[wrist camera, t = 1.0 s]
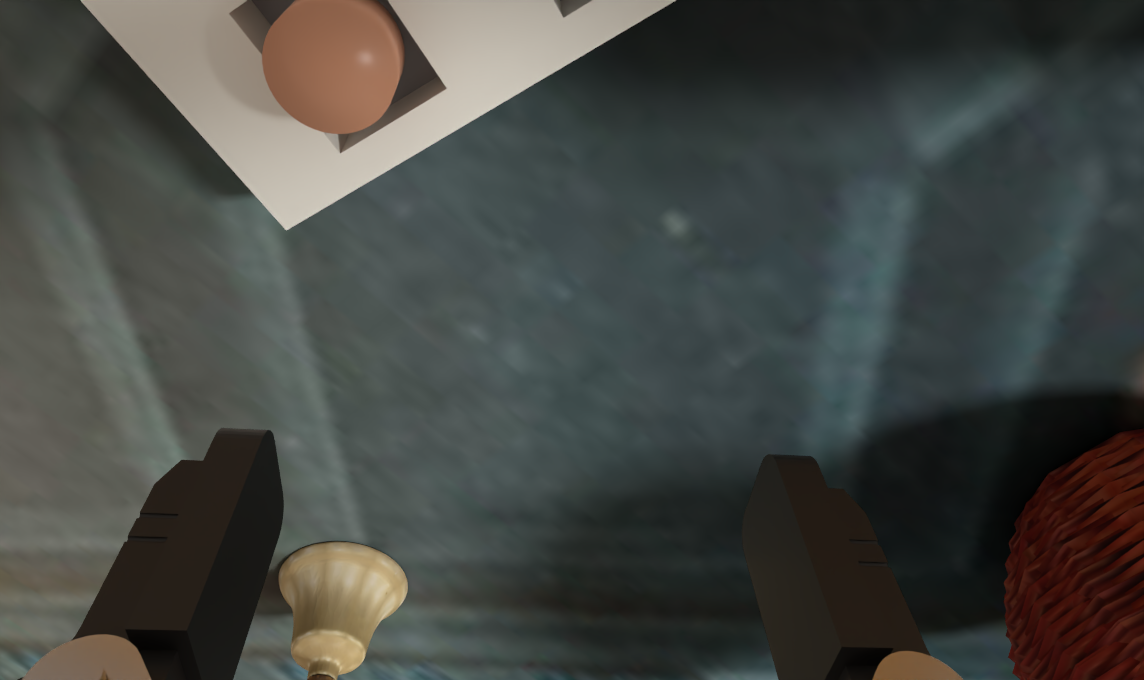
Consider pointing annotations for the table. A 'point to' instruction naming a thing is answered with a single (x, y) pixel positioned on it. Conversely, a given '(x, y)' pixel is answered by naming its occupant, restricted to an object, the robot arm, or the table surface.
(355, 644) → the hand bell
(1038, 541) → the vase
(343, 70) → the terracotta button
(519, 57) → the console
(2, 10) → the table surface
